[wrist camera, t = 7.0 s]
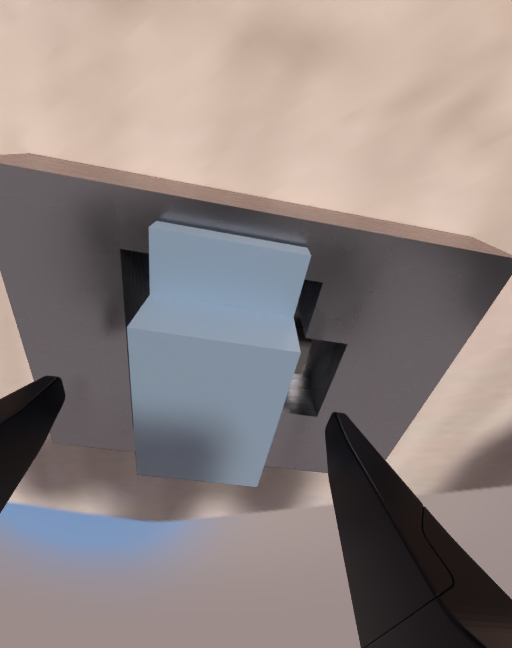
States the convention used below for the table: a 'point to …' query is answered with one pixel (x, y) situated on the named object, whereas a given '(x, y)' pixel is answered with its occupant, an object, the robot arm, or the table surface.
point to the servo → (214, 353)
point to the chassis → (311, 314)
